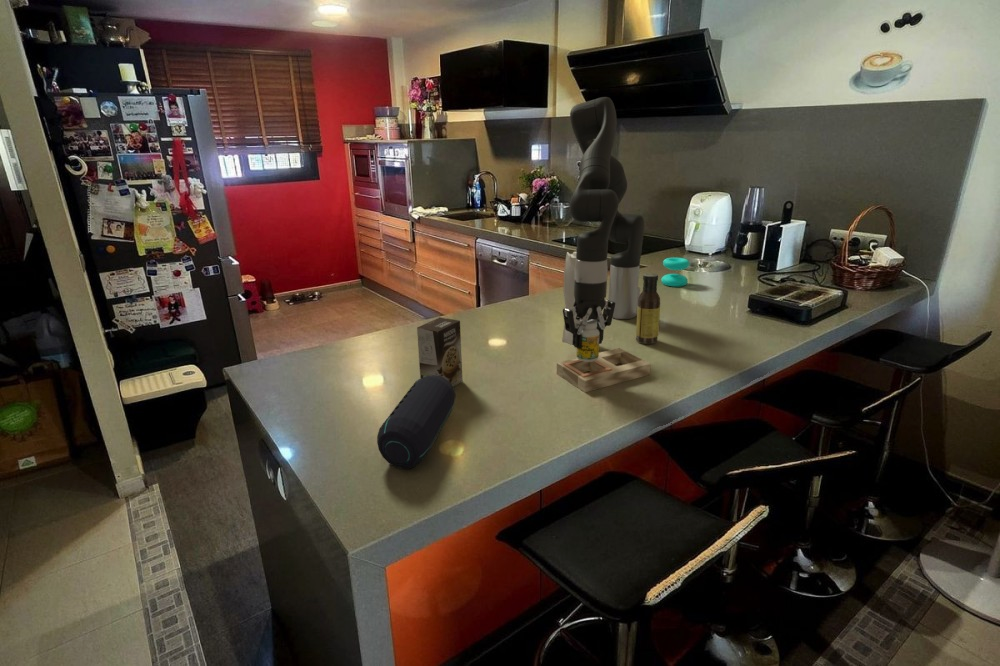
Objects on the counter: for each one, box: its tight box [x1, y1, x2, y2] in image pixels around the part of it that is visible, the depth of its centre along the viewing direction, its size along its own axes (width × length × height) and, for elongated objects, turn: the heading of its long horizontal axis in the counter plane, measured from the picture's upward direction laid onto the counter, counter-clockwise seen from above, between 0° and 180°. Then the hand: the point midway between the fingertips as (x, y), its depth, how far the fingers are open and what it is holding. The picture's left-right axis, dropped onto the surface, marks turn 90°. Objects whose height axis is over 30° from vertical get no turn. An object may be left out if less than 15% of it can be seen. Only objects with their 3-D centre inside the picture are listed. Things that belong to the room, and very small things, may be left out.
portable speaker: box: [376, 375, 456, 470], centre depth 106 cm, size 25×10×10 cm, turn 169°
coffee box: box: [416, 317, 463, 388], centre depth 127 cm, size 9×6×16 cm
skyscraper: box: [561, 251, 582, 345], centre depth 151 cm, size 8×8×28 cm
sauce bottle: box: [635, 272, 661, 345], centre depth 152 cm, size 6×6×20 cm
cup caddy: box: [556, 347, 651, 393], centre depth 134 cm, size 20×12×3 cm, turn 117°
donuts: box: [660, 257, 691, 288], centre depth 211 cm, size 10×10×10 cm
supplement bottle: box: [576, 319, 600, 362], centre depth 129 cm, size 5×5×10 cm
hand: (587, 344), depth 129 cm, fingers closed on supplement bottle, 5 cm apart
